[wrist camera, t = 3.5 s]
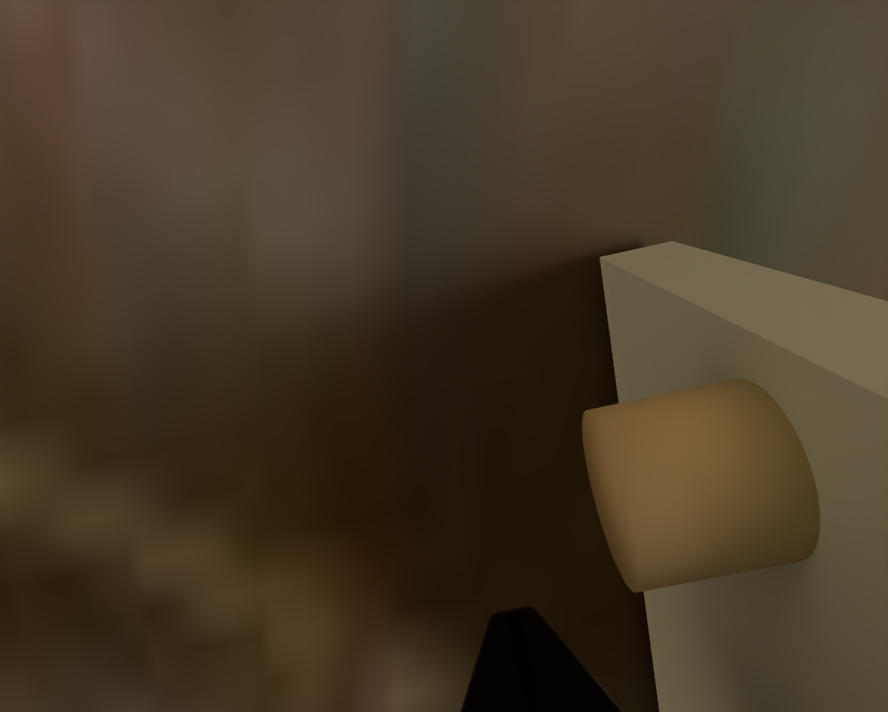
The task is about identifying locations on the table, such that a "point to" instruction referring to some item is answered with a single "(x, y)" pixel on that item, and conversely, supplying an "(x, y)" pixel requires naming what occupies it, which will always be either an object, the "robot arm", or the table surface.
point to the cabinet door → (747, 480)
